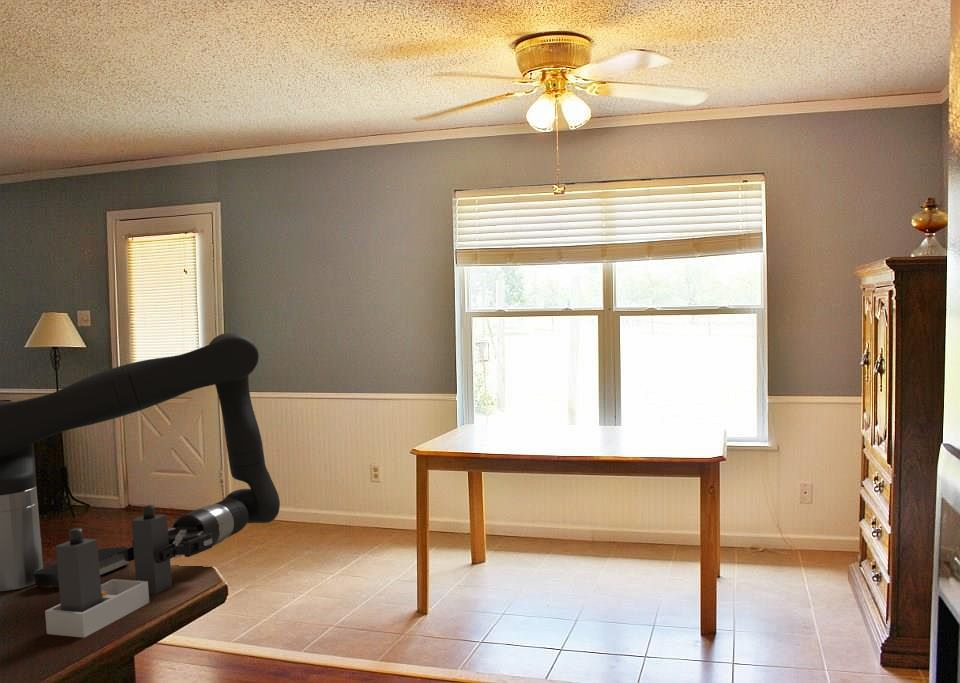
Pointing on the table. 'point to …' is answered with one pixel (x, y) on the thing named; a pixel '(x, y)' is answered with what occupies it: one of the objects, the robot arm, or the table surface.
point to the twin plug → (78, 573)
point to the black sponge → (107, 562)
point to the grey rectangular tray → (99, 609)
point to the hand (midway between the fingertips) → (141, 556)
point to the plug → (151, 550)
